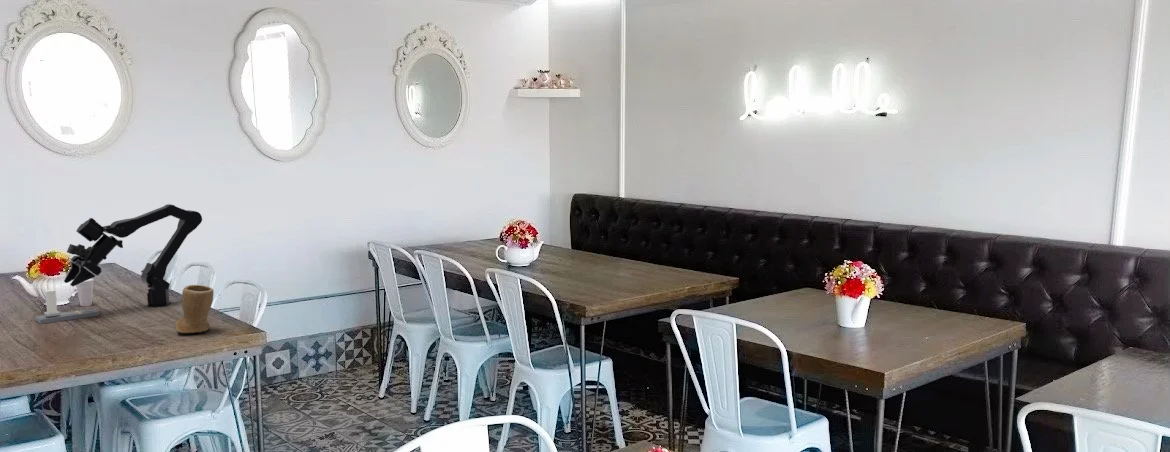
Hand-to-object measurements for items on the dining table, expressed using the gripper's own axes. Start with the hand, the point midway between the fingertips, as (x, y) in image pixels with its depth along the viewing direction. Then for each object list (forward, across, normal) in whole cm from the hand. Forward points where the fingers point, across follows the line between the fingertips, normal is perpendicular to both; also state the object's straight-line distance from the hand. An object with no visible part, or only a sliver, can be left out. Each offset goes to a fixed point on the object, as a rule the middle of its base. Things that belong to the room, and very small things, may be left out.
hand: (68, 284), depth 302 cm
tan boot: (-9, +53, +26) cm, 60 cm away
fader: (+11, 0, +3) cm, 12 cm away
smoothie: (+2, -20, +15) cm, 25 cm away
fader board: (+9, 0, +8) cm, 12 cm away
